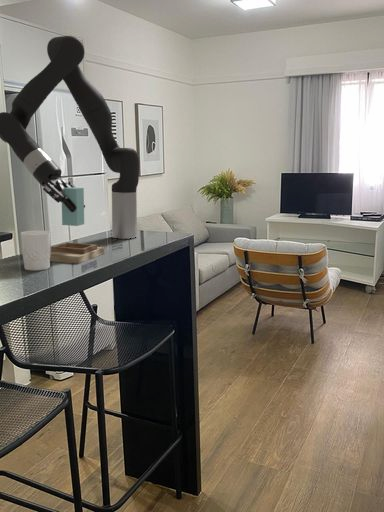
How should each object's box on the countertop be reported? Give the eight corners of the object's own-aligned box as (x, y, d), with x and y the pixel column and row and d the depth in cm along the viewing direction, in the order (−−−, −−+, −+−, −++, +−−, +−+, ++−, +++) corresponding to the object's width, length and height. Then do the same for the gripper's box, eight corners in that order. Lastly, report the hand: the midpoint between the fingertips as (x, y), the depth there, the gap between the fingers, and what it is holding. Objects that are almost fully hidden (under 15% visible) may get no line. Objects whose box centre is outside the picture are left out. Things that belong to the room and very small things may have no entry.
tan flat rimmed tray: (70, 250, 166) (70, 240, 165) (104, 253, 162) (104, 242, 162) (43, 260, 151) (42, 248, 150) (79, 263, 147) (78, 251, 147)
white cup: (20, 271, 137) (18, 234, 135) (24, 265, 144) (22, 230, 142) (50, 270, 138) (49, 234, 136) (52, 264, 146) (51, 230, 144)
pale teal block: (69, 223, 157) (68, 187, 155) (84, 224, 156) (83, 188, 154) (62, 224, 153) (61, 188, 151) (77, 225, 152) (76, 188, 149)
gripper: (36, 159, 146) (74, 203, 145) (62, 158, 159) (97, 199, 158) (21, 177, 148) (58, 220, 147) (48, 175, 162) (82, 215, 161)
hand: (78, 209), depth 153 cm, fingers closed on pale teal block, 4 cm apart
